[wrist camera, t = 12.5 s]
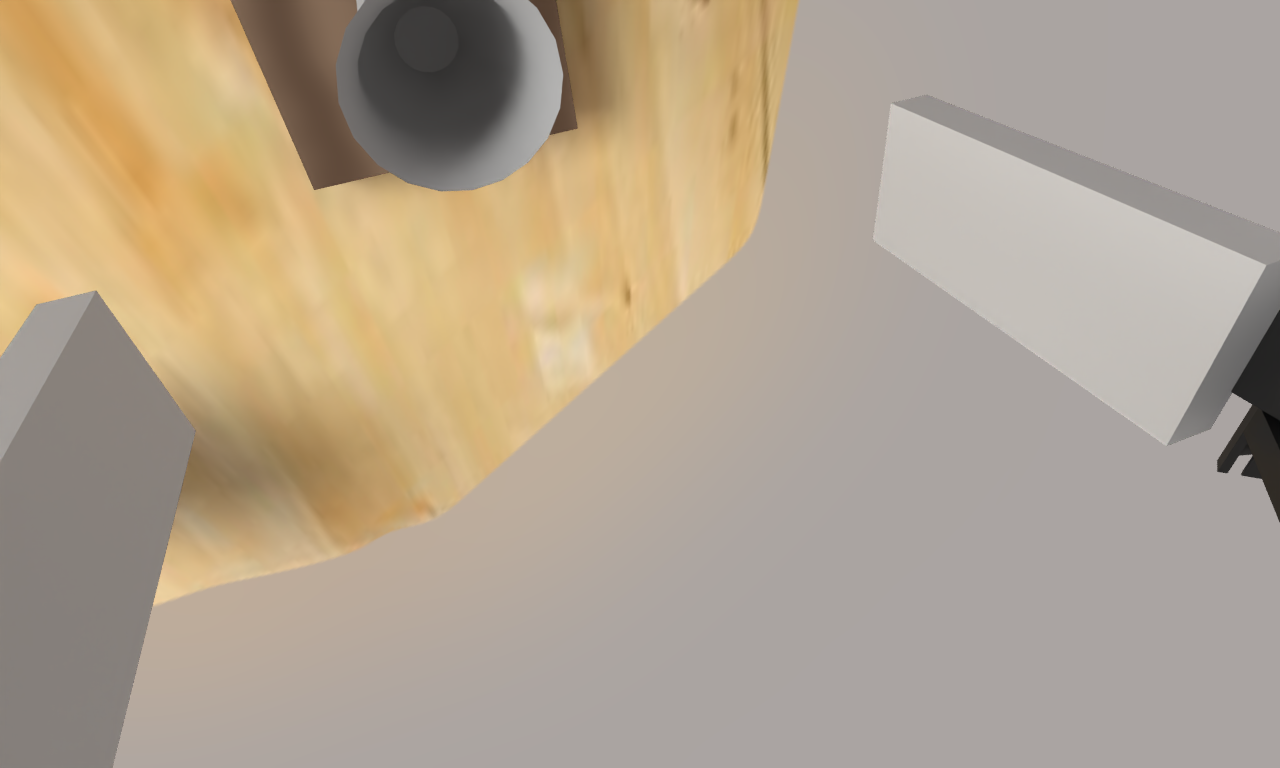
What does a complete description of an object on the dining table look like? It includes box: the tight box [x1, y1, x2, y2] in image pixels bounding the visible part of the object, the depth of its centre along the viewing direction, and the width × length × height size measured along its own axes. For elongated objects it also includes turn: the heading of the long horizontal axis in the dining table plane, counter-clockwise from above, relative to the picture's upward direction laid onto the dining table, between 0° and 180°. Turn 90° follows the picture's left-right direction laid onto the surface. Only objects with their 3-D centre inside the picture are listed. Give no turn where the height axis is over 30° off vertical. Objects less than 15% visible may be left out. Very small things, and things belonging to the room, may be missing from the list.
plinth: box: [231, 0, 578, 190], centre depth 37 cm, size 16×16×3 cm
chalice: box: [336, 0, 563, 191], centre depth 29 cm, size 7×7×18 cm
